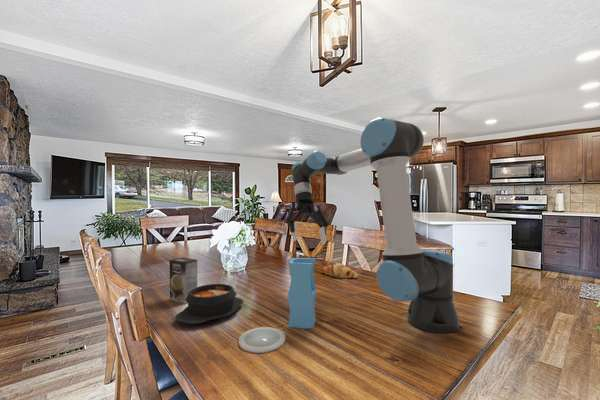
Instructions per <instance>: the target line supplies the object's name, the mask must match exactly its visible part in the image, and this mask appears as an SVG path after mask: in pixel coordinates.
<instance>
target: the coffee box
mask: <svg viewBox="0 0 600 400" xmlns="http://www.w3.org/2000/svg"><path fill="white" fill-rule="evenodd" d="M196 287H198V259H196V258H195V259H194V258H189V257H178V258H177V257H176V258H172V259H169V301H172V302H175V303H178V304H179V303H180V304H184V305H186V304H187V305H188V303H187V302H186V300H185V299H186V297H187V296H188V293H189V291H190V290H192V289H194V288H196Z"/></svg>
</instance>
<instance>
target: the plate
mask: <svg viewBox="0 0 600 400" xmlns="http://www.w3.org/2000/svg"><path fill="white" fill-rule="evenodd" d="M285 342H286V334H285V332H283V331H282V330H281V329H279V328H277V327H276V328H275V327H270V326H269V327H268V326H260V327H259V326H258V327H255V328H251V329H249V330H245V331H244V332H243V333H241V334H240V335H239V337H238V346H239V347H240V348H241V349H242V350H243V351H246V352H249V353H255V354H262V353H269V352H274V351H275V350H278V349H280V348H281V347H282V346H283V345H284V344H285Z"/></svg>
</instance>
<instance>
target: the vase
mask: <svg viewBox="0 0 600 400" xmlns="http://www.w3.org/2000/svg"><path fill="white" fill-rule="evenodd" d="M315 264H316V258H314V257H313V258H312V257H311V258H310V257H309V258H308V257H293V258H291V259H290V260H289V261H288V267H289V270H290V284H289V289H288V293H287V301H288V305H289V319H288V324H287V325H288V326H287V327H288V328H300V329H313V328H314V326H315V324H316V321H317V318H316V312H315V302H316V296H317V295H316V294H317V287H316V284H315V279H314V270H315V268H314V267H315Z"/></svg>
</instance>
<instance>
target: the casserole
mask: <svg viewBox="0 0 600 400" xmlns="http://www.w3.org/2000/svg"><path fill="white" fill-rule="evenodd" d="M185 300H186V302H187V305H188V306H186V307H185V308H184V309H183V310H182V311H180V312H179V313H177V314H176V315H175V316H174V319H175V320H176V321H177V322H180V323H183V324H190V325H199V324H204V323H206V322H208V321H209V322H210V321H213V320H218V319H221V318H225V317H228V316H230V315H232V314H233V313H235V312H236V311H237V310H238V309H239V308H240V306H241V305H242V304H244V300H243V298H240V297H237V292H236V291H235V288H234V287H233V286H232V285H229V284H227V283H225V284H224V283H211V284H210V283H209V284H204V285H200V286H197V287H196V288H194V289H192V290H190V291H189V293H188V296H187V297H186V299H185Z"/></svg>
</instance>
